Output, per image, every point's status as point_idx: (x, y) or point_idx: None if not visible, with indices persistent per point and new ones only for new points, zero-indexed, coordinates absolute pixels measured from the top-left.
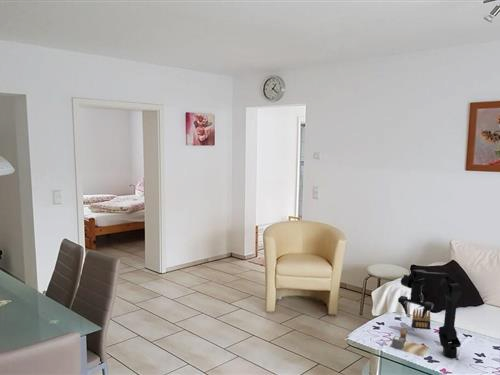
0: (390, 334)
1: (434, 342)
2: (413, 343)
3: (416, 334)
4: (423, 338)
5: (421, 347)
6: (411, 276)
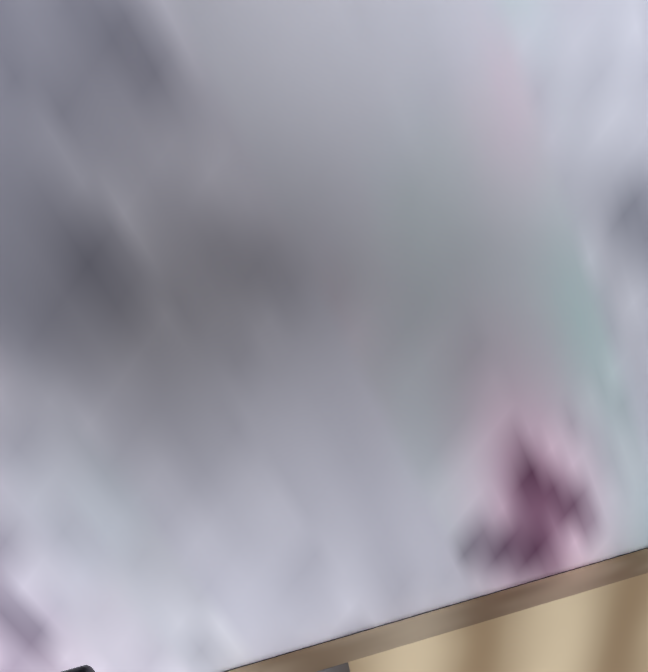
0: (26, 608)
1: (631, 276)
2: (470, 648)
3: (305, 227)
4: (459, 282)
5: (594, 656)
6: None
